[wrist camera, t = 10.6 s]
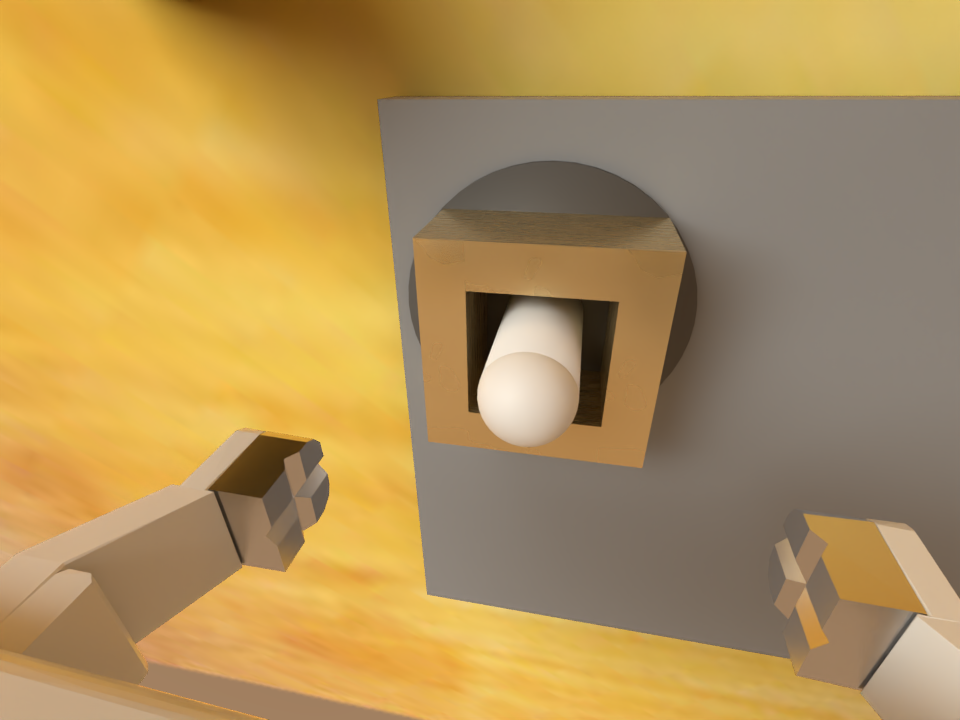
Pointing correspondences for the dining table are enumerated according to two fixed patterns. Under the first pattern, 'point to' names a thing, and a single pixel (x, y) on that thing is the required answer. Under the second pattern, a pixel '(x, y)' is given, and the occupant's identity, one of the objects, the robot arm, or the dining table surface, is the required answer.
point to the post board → (696, 347)
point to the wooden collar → (549, 273)
